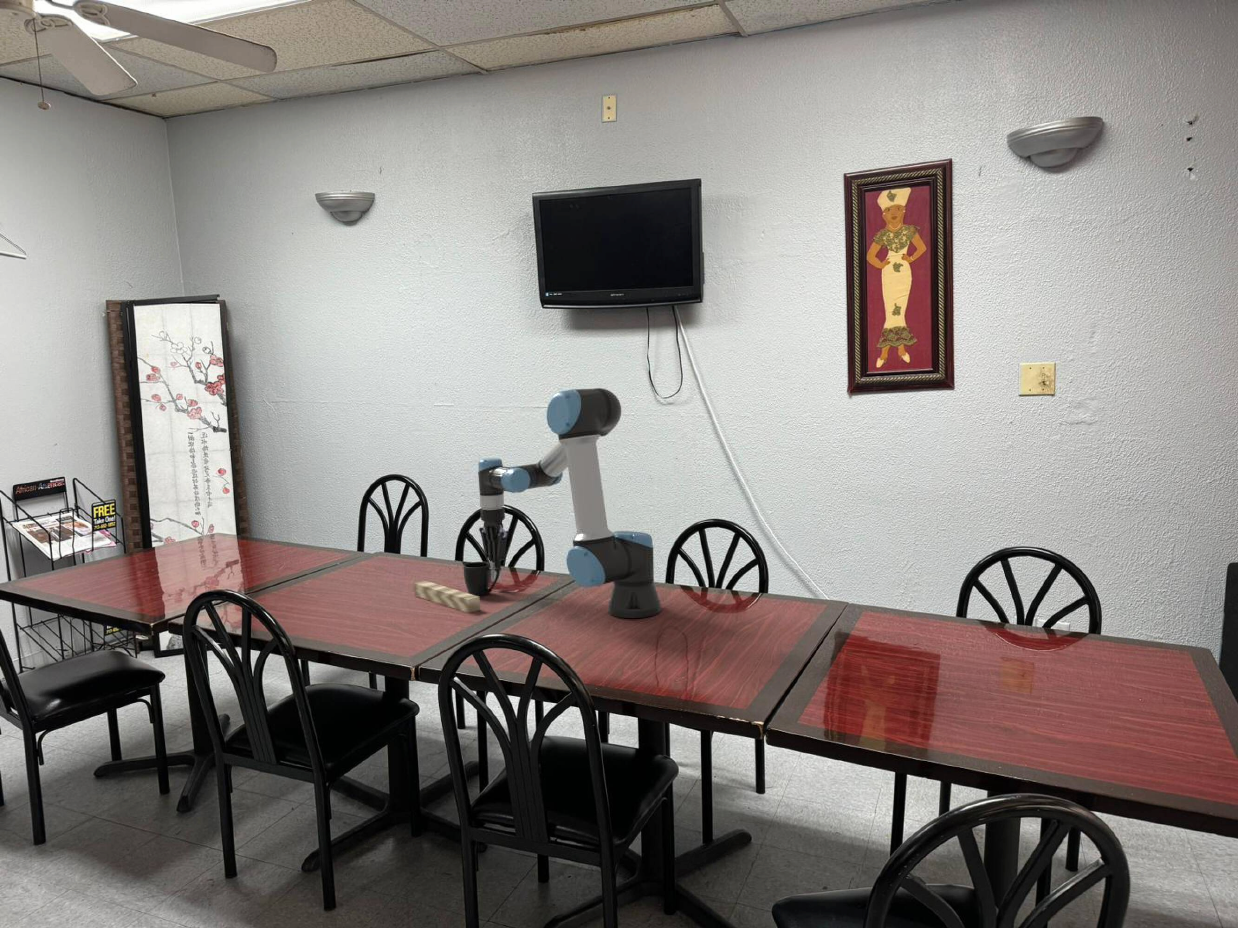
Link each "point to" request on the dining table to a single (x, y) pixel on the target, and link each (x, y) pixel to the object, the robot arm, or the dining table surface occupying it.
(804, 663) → the dining table surface
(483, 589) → the mug
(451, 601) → the wooden bar
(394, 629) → the dining table surface
